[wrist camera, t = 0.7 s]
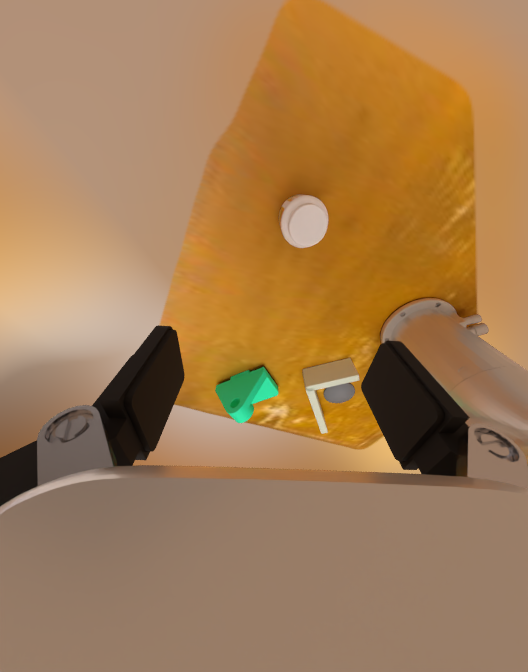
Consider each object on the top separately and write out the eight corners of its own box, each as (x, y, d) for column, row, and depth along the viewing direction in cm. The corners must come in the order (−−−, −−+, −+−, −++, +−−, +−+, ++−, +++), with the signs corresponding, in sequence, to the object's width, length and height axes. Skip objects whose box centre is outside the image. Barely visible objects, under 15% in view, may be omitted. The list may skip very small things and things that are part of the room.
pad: (352, 378, 47) (353, 379, 47) (356, 398, 51) (356, 399, 51) (321, 385, 49) (321, 386, 49) (326, 404, 53) (327, 405, 52)
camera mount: (235, 401, 53) (229, 441, 44) (217, 381, 49) (206, 421, 40) (279, 385, 49) (281, 426, 41) (263, 363, 46) (262, 402, 37)
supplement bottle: (296, 246, 32) (306, 264, 24) (270, 219, 30) (271, 229, 22) (324, 215, 30) (346, 224, 22) (298, 184, 28) (310, 181, 20)
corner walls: (350, 357, 44) (358, 374, 40) (358, 407, 53) (366, 425, 49) (301, 369, 46) (304, 387, 42) (317, 415, 55) (321, 433, 51)
